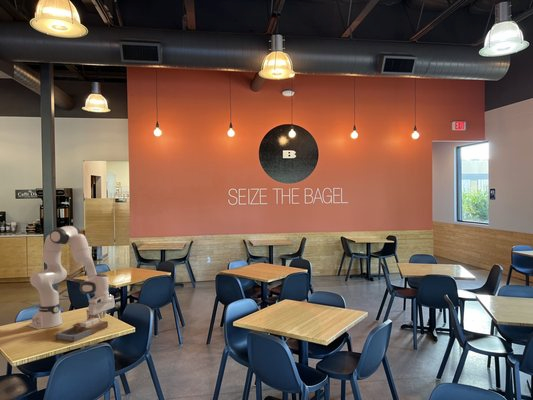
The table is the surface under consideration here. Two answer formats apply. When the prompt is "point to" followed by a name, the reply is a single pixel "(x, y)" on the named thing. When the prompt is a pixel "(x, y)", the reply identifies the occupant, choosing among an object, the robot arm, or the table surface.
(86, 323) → the front coaster
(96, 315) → the teacup with lid
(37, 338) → the table surface
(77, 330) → the walnut board
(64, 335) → the tray
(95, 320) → the rear coaster
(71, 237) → the robot arm
